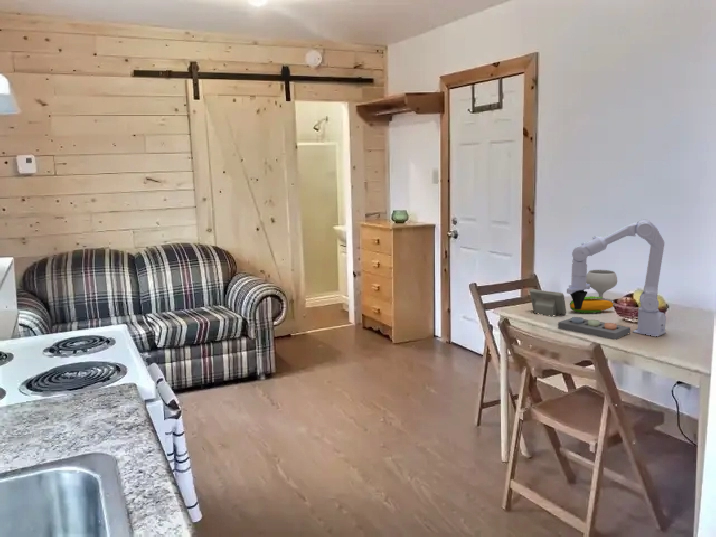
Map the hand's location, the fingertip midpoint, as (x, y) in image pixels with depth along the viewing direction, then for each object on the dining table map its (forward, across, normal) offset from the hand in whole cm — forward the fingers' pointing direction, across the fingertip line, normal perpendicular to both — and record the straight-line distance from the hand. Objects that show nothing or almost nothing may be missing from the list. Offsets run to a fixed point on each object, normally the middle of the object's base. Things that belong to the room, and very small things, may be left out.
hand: (577, 308), depth 252 cm
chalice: (+8, -49, -16) cm, 52 cm away
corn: (+8, -28, -9) cm, 31 cm away
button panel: (+8, 0, +7) cm, 11 cm away
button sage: (+6, 0, +7) cm, 9 cm away
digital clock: (+8, -13, -22) cm, 27 cm away
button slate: (+6, 0, 0) cm, 6 cm away
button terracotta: (+6, 0, +14) cm, 15 cm away
